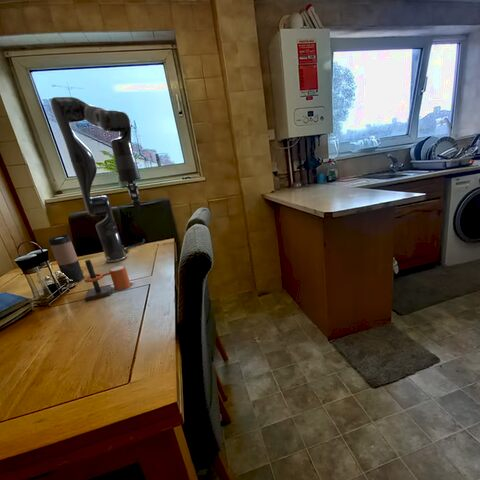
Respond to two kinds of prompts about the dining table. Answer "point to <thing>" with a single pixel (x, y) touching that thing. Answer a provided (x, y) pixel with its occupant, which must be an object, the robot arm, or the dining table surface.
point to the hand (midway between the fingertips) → (138, 209)
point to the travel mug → (66, 257)
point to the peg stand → (96, 285)
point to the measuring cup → (114, 277)
